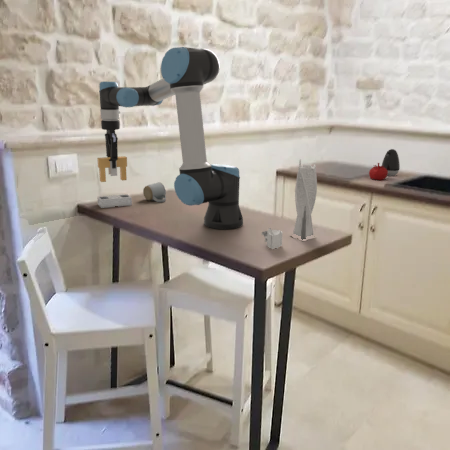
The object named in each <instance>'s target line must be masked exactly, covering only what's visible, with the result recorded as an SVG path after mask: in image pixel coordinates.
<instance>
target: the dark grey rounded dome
mask: <svg viewBox="0 0 450 450" xmlns="http://www.w3.org/2000/svg"><path fill="white" fill-rule="evenodd" d="M381 166H384V168H386V169H387V171H388V174H387V177H388V176H389V177H393V176H396V175H397V174H398V173H399V171H400V168H401V167H400V158H399V154H398V151H397V150H396V149H394V148H390V149H388V150H387V151H386V153H385V155H384V156H383V160H382V163H381Z"/></svg>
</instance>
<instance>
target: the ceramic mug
mask: <svg viewBox="0 0 450 450" xmlns="http://www.w3.org/2000/svg"><path fill="white" fill-rule="evenodd" d="M166 194H167V191H166V187H165V185H164V184H163V183H162V182H160V181H159V182H158V181H157V182H154V183H151V184H148V185H145V186H144V187H143V191H142V195H143V197H144V198H145V200H147V201H151V202H153V201H154V202H157V203H164V202H166V200H167V196H166Z"/></svg>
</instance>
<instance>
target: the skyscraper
mask: <svg viewBox="0 0 450 450" xmlns="http://www.w3.org/2000/svg"><path fill="white" fill-rule="evenodd" d="M298 161H299V162H298V170H297V174H296V180H295V189H294V197H295V198H294V199H295V200H294V202H295V209H296V218H295V219H296V220H295V223H294V228H293V234H296V235H298V236H301V239H302V240H303V239H306V237H307V236H311V235H314V227H313V226H314V225H313V219H312V213H313V210H314V206H315V203H316V199H317V192H318V180H317V178H318V177H317V166H316V164H315V163H314V164H313V166H312V164H310V163H303V164H302V159H301V158H299V160H298ZM293 234H292V235H293Z"/></svg>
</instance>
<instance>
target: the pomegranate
mask: <svg viewBox="0 0 450 450" xmlns="http://www.w3.org/2000/svg"><path fill="white" fill-rule="evenodd" d="M368 172H369V173H368V174H369V178H370V179H371V180H375V181H376V180H377V181H383V180H385V179H386V178H387V177H388V176H387V174H388V171H387V169H386V168H384V166H382V165H380V162H377V164H373V167H371V168H370V169H369V171H368Z"/></svg>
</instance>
